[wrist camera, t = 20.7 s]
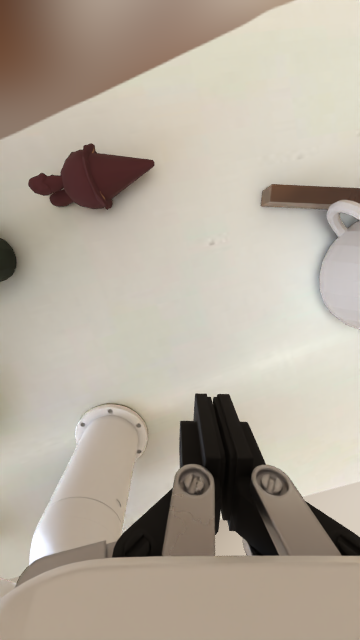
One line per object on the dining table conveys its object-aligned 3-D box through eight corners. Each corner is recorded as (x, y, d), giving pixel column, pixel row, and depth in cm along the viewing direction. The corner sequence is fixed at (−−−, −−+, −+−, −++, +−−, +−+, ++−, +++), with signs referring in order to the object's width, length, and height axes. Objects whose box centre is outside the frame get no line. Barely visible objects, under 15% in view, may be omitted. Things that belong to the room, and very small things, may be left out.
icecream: (139, 108, 26) (13, 148, 28) (154, 177, 26) (27, 213, 28) (154, 150, 33) (52, 180, 35) (165, 205, 33) (62, 232, 35)
